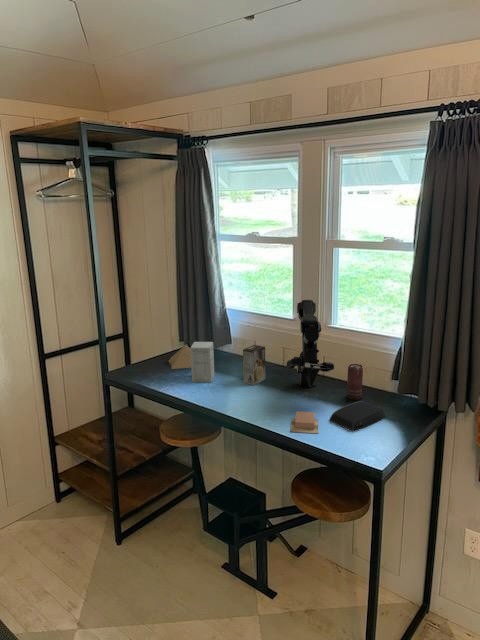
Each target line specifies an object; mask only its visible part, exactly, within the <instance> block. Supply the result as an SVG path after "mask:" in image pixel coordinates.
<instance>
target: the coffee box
mask: <svg viewBox="0 0 480 640" xmlns="http://www.w3.org/2000/svg"><path fill="white" fill-rule="evenodd" d="M242 360H243V361H242V362H243V363H242V365H243V366H242V367H243V368H242V370H243V375H242V377H243V383H244V384H249V385H252V386H256V385H258V384H260V383H261V382H263V381H265V380H266V346H263V345H256V344H253V345H250V346H247V347H245V348H243V349H242Z"/></svg>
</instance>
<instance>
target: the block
mask: <svg viewBox="0 0 480 640" xmlns="http://www.w3.org/2000/svg"><path fill="white" fill-rule="evenodd" d="M315 417H316V416H315V412H314V411H313V412H311V411H309V412H308V411H295V418H296V419H295V428H307V429H314V423H315Z"/></svg>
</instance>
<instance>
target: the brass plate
mask: <svg viewBox="0 0 480 640" xmlns="http://www.w3.org/2000/svg"><path fill="white" fill-rule="evenodd" d="M295 419H296V417H292V418H291V422H290V424H291V425H290V433H300V434H301V433H302V434H303V433H304V434H319V419H318V418H316V419H315V423H314V429H307V428H295Z"/></svg>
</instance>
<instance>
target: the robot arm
mask: <svg viewBox="0 0 480 640" xmlns="http://www.w3.org/2000/svg"><path fill="white" fill-rule="evenodd" d="M296 304H297V305H296V313H297V315H298V316H297V317H298V320H299V322H300V324H299V325H300V327H299V328H300V329H299V330H300V333H301V338H302V339H301V341H302V342H301V343H302V344H301V345H302V347H301V352H300V354H299V356H293V358H290V359H289V360H288V361H286V368H288V369H295V367H296V369H297V370H296V371H297V374H299V376H300V378H299V381H296V383H297V384H298V385H299V386H300V387H302V388H303V389H304V388H305V389H306V388H311V387H316V386H317V384H316V383H315V381H316V378H317V376H318V374H319V372H331V371H333V370H335V364H334V362H329V361H324V362H322V363H320V359H318V354H319V353H320V350H319V349H318V341H319V338H320V333H321V332H322V326H321V323H320V321H318V317H317V316H315V314H316V311H317V310H316V309H317V305H316V304H317V303H315V302H314V300H312V299H302V300H301V301H300V302H297V303H296Z"/></svg>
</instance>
